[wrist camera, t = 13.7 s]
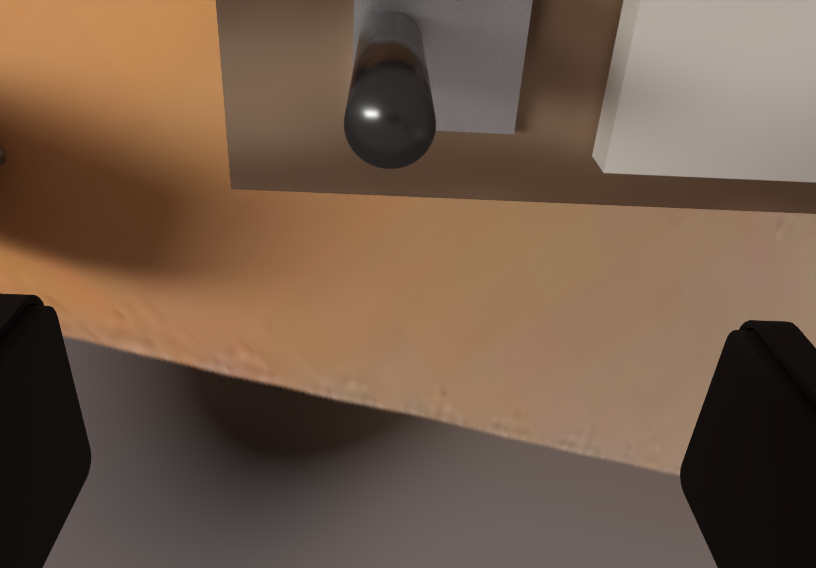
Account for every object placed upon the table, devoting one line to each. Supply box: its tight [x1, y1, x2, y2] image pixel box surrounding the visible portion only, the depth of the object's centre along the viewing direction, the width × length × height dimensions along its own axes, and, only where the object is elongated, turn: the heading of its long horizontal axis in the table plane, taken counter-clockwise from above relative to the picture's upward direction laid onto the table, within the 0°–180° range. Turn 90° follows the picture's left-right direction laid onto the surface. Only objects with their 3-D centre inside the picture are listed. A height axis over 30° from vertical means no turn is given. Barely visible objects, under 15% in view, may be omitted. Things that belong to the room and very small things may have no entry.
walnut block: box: [216, 0, 816, 214], centre depth 34 cm, size 14×28×12 cm, turn 87°
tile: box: [592, 0, 816, 182], centre depth 29 cm, size 9×2×10 cm
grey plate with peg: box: [344, 0, 533, 169], centre depth 24 cm, size 7×7×11 cm
